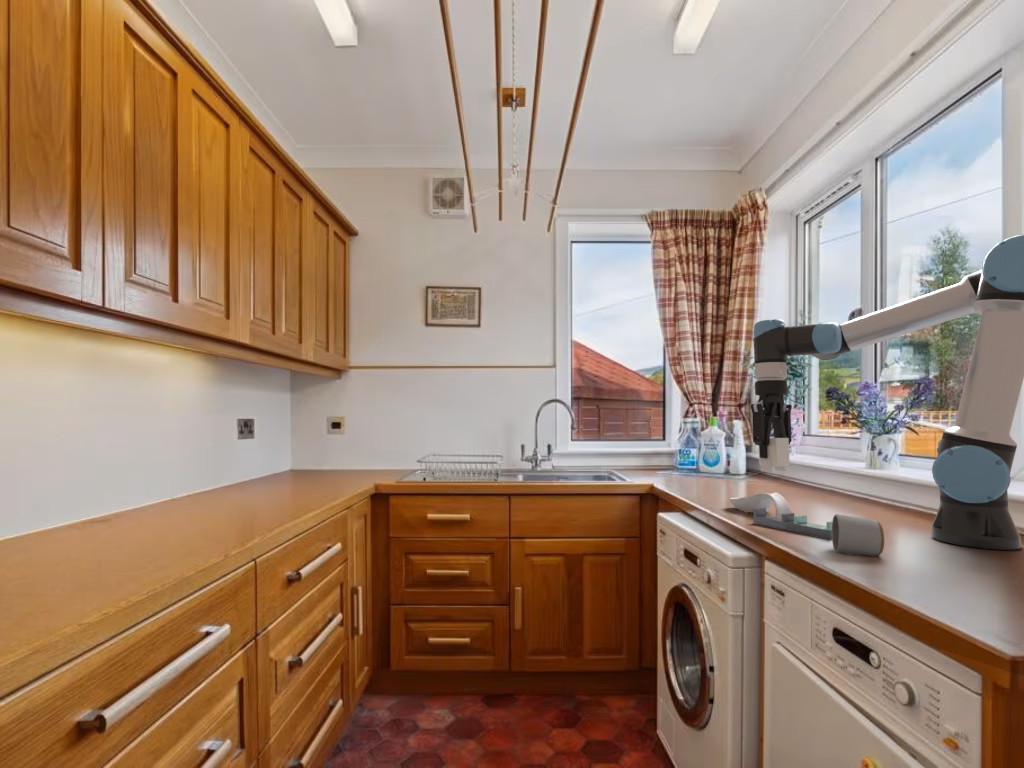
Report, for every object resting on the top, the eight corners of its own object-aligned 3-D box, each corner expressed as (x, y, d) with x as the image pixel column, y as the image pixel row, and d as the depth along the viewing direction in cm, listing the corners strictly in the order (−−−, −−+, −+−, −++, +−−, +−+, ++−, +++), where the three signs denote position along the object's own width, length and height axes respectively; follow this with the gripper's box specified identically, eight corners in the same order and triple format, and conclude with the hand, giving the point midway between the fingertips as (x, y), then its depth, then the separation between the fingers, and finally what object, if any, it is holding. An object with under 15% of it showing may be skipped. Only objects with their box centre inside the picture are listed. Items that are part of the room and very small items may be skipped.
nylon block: (789, 465, 134) (788, 438, 135) (777, 466, 132) (776, 438, 132) (771, 464, 139) (770, 437, 139) (759, 465, 136) (758, 437, 137)
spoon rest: (722, 508, 162) (721, 484, 163) (758, 508, 163) (758, 484, 164) (765, 524, 139) (765, 496, 139) (808, 523, 140) (807, 496, 140)
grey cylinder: (887, 560, 103) (885, 520, 104) (838, 556, 106) (837, 517, 106) (871, 548, 113) (870, 512, 114) (827, 545, 116) (826, 509, 116)
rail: (841, 537, 122) (840, 521, 122) (831, 539, 120) (830, 522, 120) (762, 522, 140) (762, 507, 140) (753, 523, 138) (752, 508, 138)
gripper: (778, 382, 145) (781, 468, 143) (735, 379, 136) (737, 471, 134) (805, 380, 138) (808, 470, 136) (761, 377, 129) (764, 473, 128)
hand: (773, 470), depth 135 cm, fingers closed on nylon block, 5 cm apart
